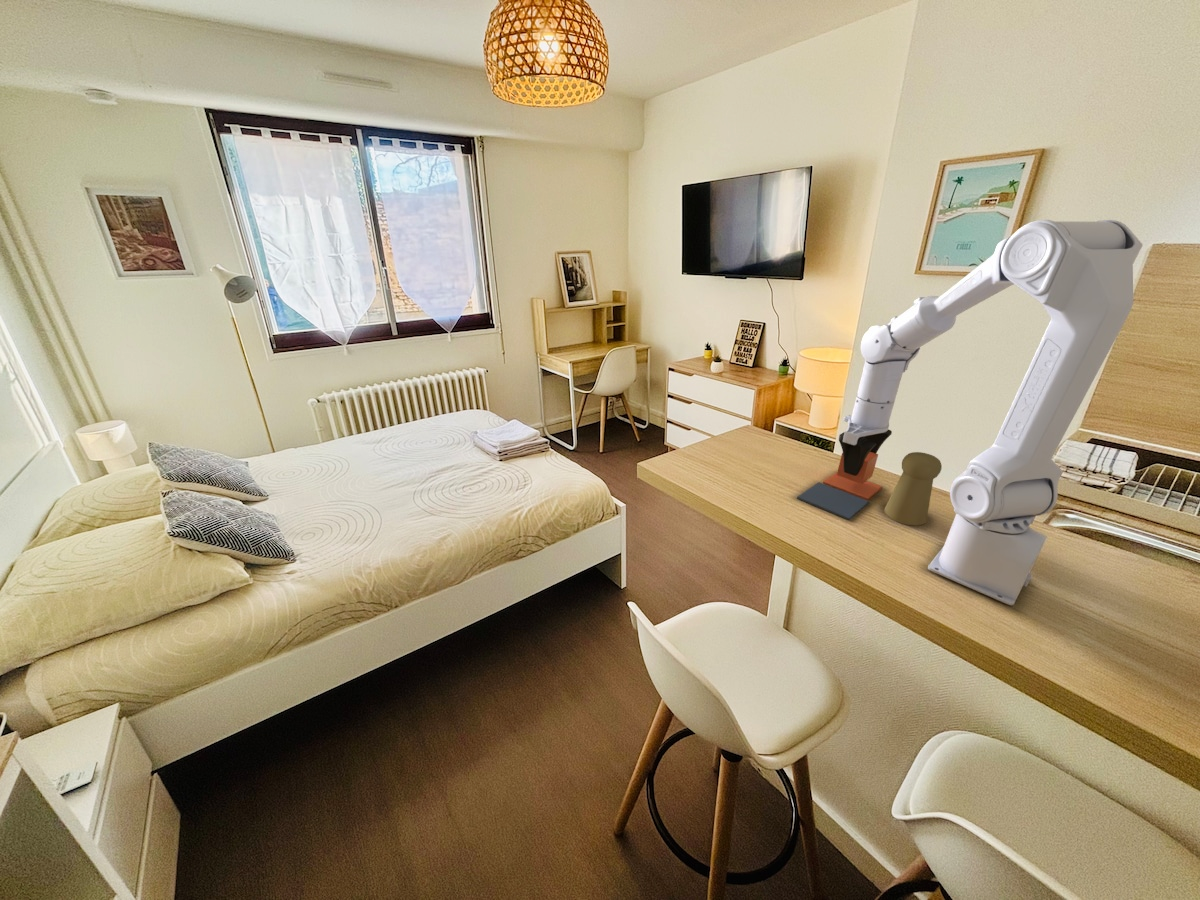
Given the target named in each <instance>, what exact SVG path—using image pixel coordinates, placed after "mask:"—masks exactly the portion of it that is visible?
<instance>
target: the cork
mask: <svg viewBox="0 0 1200 900" xmlns="http://www.w3.org/2000/svg"><path fill="white" fill-rule="evenodd" d="M942 468H943V467H942V462H941V460H940V459H939V458H938V457H936V456H934V455H933V454H931V453H927V452H921V451H920V452H919V451H914V452H913V451H912V452H909V453H907V454H906V455H905V456H904V457H903V458H902V461H901V469H902V473H901V475H900V477H899V479H898V481H897V483H896V485H895V487H894V489H893V491H892V493H891V495H890V497H889V499H888V501H887V503H886V505H885V506H884V509H883V512H884V514H885V515H886V516H887V517H888V518H890V519H891V520H893V521H895V522H896V523H900V524H902V525H907V526H914V527H916V526H922V525H925V524H926V522H927V520H928V519H927V518H928V515H929V514H928V513H929V508H930V502H931V495H932V490H933V484H934V480H935V479H936V478H937V477H938V476H939V475H940V474H941V471H942Z"/></svg>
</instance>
